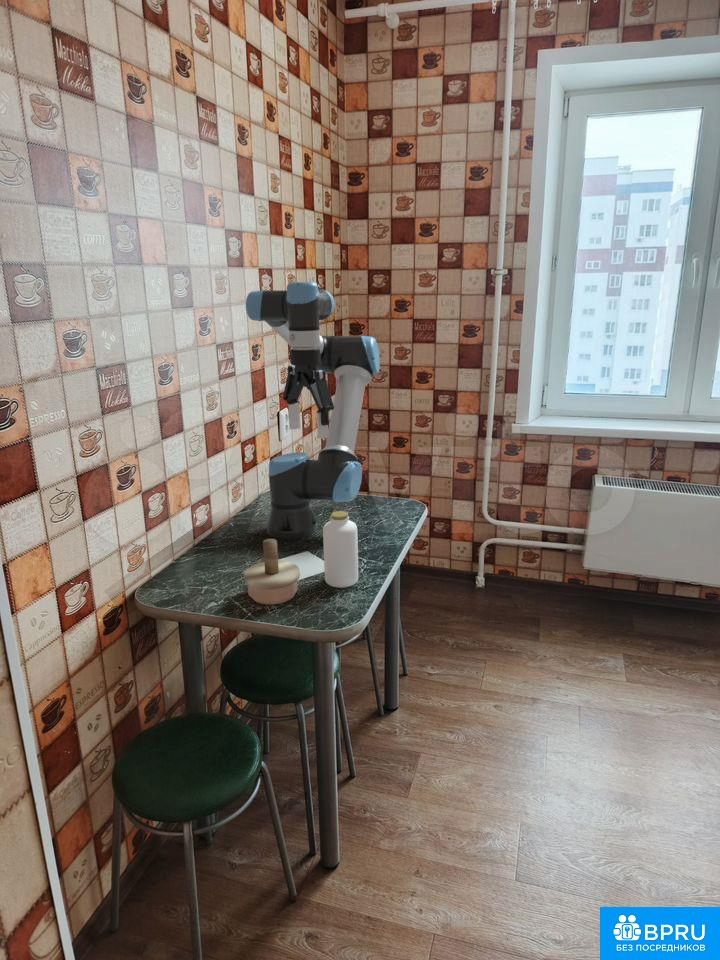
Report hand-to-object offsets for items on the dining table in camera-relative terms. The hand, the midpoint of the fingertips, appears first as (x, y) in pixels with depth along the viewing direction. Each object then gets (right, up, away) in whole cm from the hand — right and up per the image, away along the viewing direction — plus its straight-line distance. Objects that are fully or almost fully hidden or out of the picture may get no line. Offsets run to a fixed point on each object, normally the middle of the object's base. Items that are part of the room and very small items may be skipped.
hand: (308, 433), depth 165 cm
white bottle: (+9, -37, -3) cm, 38 cm away
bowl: (-8, -39, -10) cm, 41 cm away
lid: (-8, -35, -11) cm, 37 cm away
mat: (-3, -35, +5) cm, 35 cm away
